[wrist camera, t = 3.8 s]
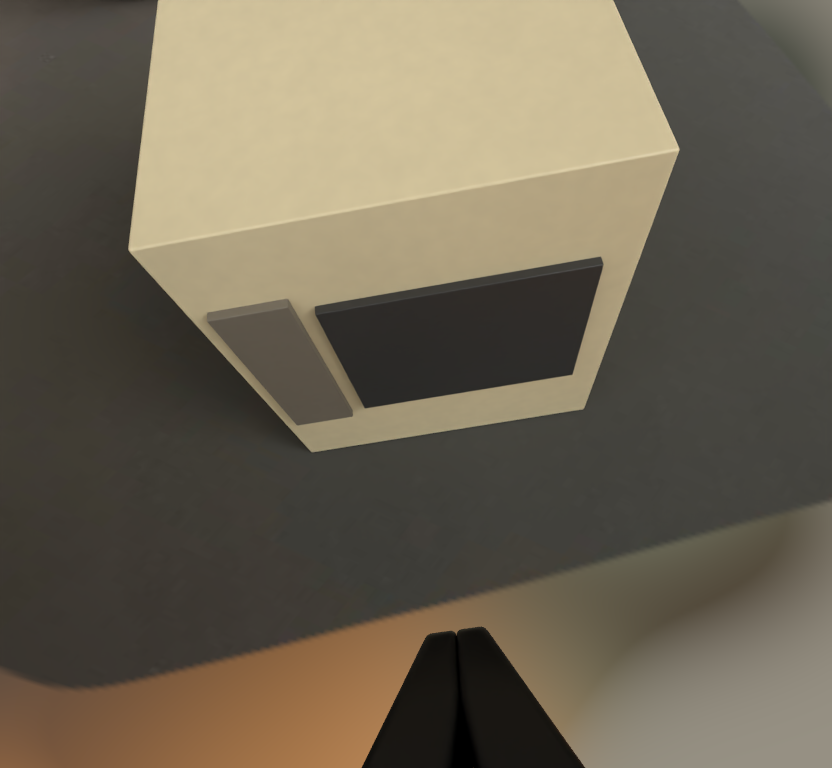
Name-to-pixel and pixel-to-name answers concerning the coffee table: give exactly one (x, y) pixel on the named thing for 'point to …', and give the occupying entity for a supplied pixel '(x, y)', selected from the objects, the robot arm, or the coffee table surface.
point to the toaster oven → (399, 202)
